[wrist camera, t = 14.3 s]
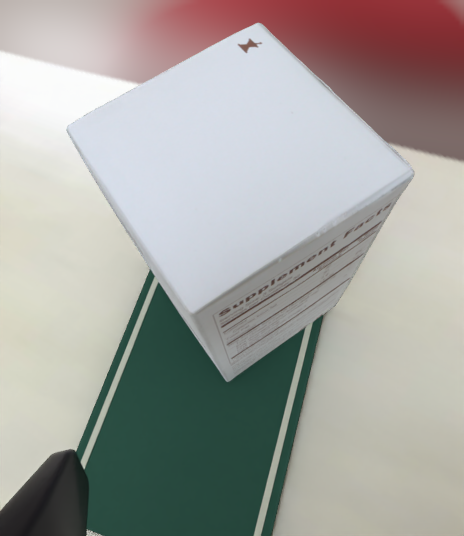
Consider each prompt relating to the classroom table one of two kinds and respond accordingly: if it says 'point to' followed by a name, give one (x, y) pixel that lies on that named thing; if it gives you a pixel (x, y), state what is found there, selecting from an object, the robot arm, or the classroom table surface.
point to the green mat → (190, 431)
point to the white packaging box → (243, 190)
